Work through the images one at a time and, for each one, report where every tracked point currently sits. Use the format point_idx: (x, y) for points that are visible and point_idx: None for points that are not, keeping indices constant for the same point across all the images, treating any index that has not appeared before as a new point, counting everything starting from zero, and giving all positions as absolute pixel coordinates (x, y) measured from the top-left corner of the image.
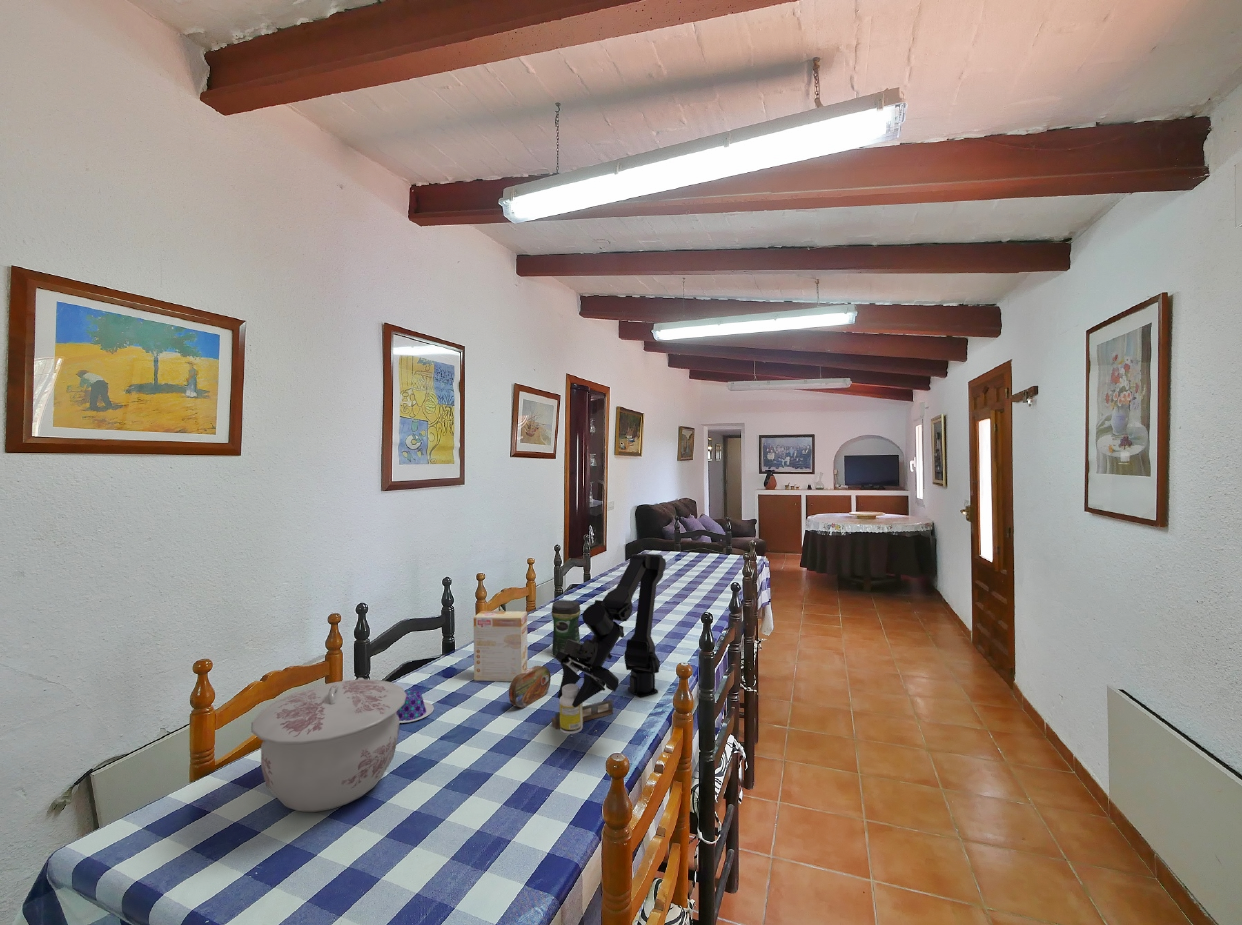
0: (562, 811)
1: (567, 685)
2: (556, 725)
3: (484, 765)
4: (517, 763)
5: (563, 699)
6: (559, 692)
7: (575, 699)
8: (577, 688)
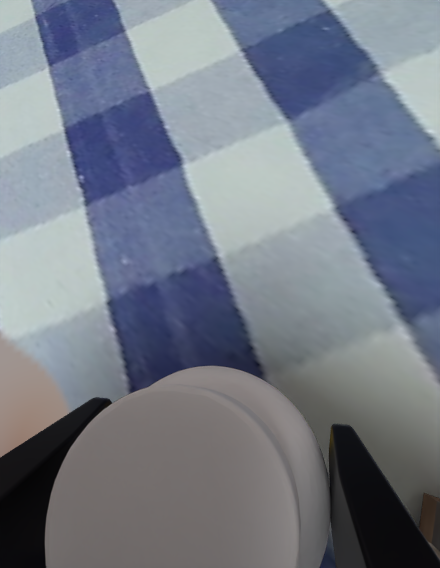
0: (14, 177)
1: (252, 546)
2: (431, 499)
3: (354, 116)
4: (282, 196)
5: (208, 386)
6: (357, 458)
7: (62, 430)
8: (55, 566)
